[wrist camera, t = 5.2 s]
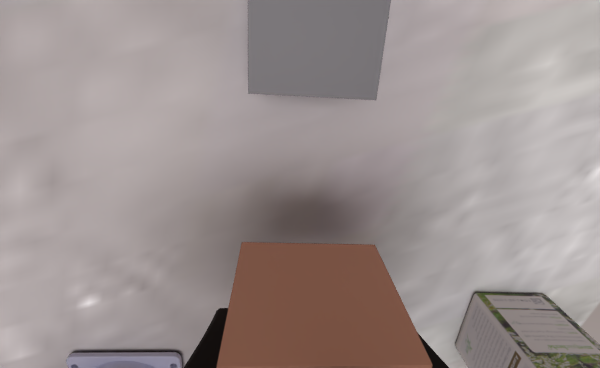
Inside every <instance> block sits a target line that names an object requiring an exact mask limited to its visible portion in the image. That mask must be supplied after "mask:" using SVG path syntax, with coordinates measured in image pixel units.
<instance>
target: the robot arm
mask: <svg viewBox="0 0 600 368" xmlns="http://www.w3.org/2000/svg"><path fill="white" fill-rule="evenodd" d="M227 313H228V308H220V309H218V310H217V311H216V313H215V316H214V318H213V320H212V322H211V324H210V325H209V327H208V329H207V331H206V333H205V334H204V336H203V338H202V340H201V341H200V343H199V345H198V346H197V348H196V349H195V351H194V353H193V354H192V356H191V357H190V359H189V360H188V362H187V364H186V365H185V367H184V368H217V363H218V358H219V353H220V348H221V343H222V338H223V333H224V328H225V323H226V318H227ZM418 336H419V338H420V340H421V342H422V344H423V346H424V348H425V350H426V352H427V354H428V356H429V358H430V360H431V363H432V365H433V366H432V368H449V367H448V366H447V365H446V364H445V363H444V362H443V361H442V360H441V359H440V357H439V356H438V355H437V354H436V353H435V352H434V351H433V350H432V349H431V348H430V346H429V345H428V344H427V343H426V342H425V341H424V340H423V338H422V337H421V336H420V335H419V334H418ZM66 362H67V365H68V368H182V360H181V355H180V354H179V353H177V352H116V353H72V354H70V355H69V356H68V358H67V359H66Z"/></svg>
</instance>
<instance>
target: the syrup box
mask: <svg viewBox="0 0 600 368" xmlns="http://www.w3.org/2000/svg"><path fill="white" fill-rule="evenodd" d="M455 345H456V348H457V350H458V352H459V353H460V355H461V357H462V358H463V360H464V362H465V363H466V365H467V367H468V368H600V344H598V343H597V342H596V341H595V340H594V339H593V338H592V337H591V336H590V335H589V334H588V333H586V332H585V331H584V330H583V329H582V328H581V327H580V326H579V325H578V324H577V323H576V322H575V321H573V320H572V319H571V318H570V317H569V316H568V315H567V314H566V313H564V312H563V311H562V310H561V309H560V308H559V307H558V306H557V305H556V304H555V303H554V302H553V301H551V300H550V299H549V298H548V297H547V296H546V295H544V294H508V293H475V294H474V296H473V298H472V301H471V303H470V305H469V308H468V310H467V313H466V316H465V318H464V321H463V324H462V327H461V330H460V333H459V336H458V338H457V342H456V344H455Z"/></svg>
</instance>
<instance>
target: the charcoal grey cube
mask: <svg viewBox="0 0 600 368" xmlns="http://www.w3.org/2000/svg"><path fill="white" fill-rule="evenodd" d="M390 3H391V0H248V94H267V95H287V96H306V97H326V98H345V99H364V100H376V98H377V91H378V84H379V78H380V71H381V64H382V57H383V50H384V43H385V37H386V30H387V23H388V16H389V9H390Z"/></svg>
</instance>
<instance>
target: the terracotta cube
mask: <svg viewBox="0 0 600 368" xmlns="http://www.w3.org/2000/svg"><path fill="white" fill-rule="evenodd" d="M432 366H433V365H432V363H431V360H430V358H429V356H428V354H427V352H426V350H425V348H424V346H423V344H422V342H421V340H420V338H419V336H418V333H417V331H416V329H415V327H414V325H413V323H412V321H411V319H410V317H409V315H408V313H407V311H406V309H405V306H404V304H403V302H402V300H401V298H400V296H399V294H398V292H397V290H396V288H395V286H394V284H393V282H392V279H391V277H390V275H389V273H388V271H387V269H386V267H385V265H384V263H383V261H382V259H381V257H380V255H379V253H378V250H377V248H376V246H375V245H362V244H309V243H256V242H242V244H241V249H240V254H239V259H238V264H237V269H236V273H235V278H234V283H233V288H232V293H231V298H230V303H229V308H228V313H227V318H226V323H225V328H224V333H223V338H222V343H221V348H220V353H219V358H218V363H217V368H432Z"/></svg>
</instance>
